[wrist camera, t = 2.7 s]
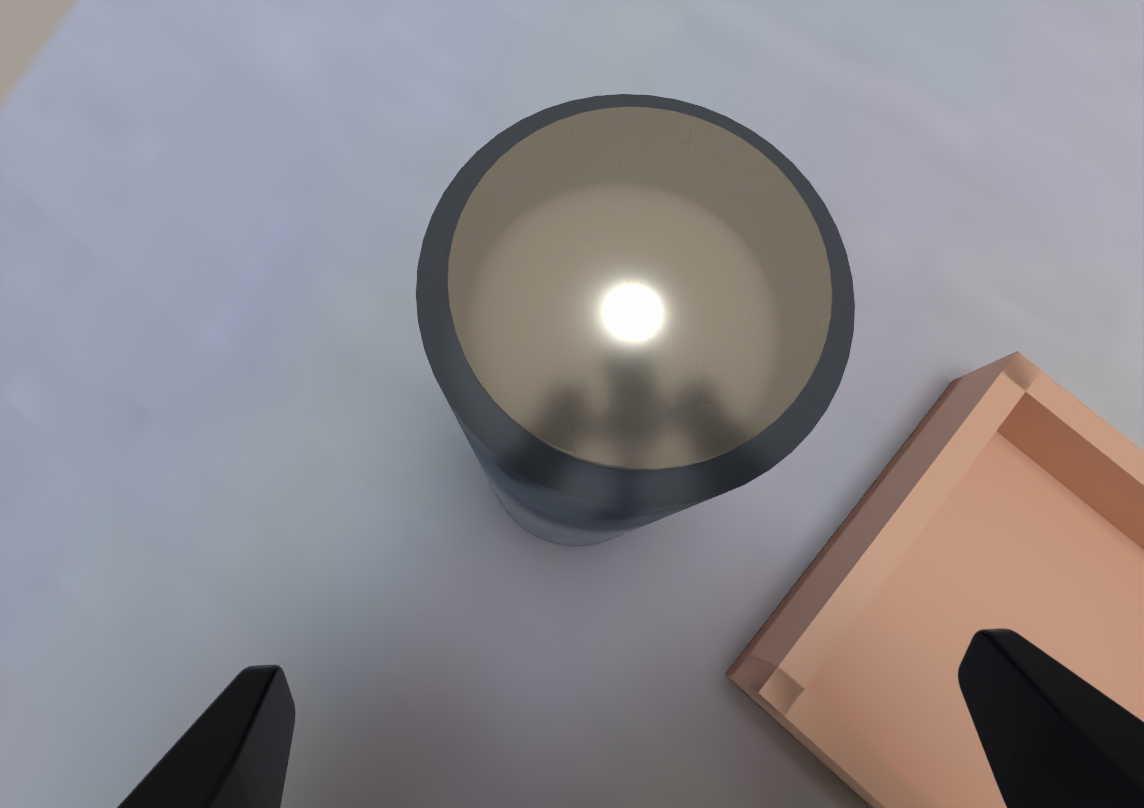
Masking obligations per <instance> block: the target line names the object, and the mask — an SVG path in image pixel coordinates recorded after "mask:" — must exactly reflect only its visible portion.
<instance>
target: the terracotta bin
mask: <svg viewBox="0 0 1144 808" xmlns="http://www.w3.org/2000/svg"><path fill="white" fill-rule="evenodd" d="M997 628H1006V629H1010V630H1013V631H1015V632H1017V633H1018V634H1020V635H1021V636H1023V637H1024V638H1025V639H1027V640H1028V641H1030V642H1031V643H1033V644H1034V645H1035V646H1037V647H1038V648H1040V649H1041V650H1043V651H1044V652H1045V653H1047V654H1048V655H1050V656H1051V657H1052V658H1054V659H1055V660H1057V661H1058V662H1060V663H1061V664H1062V665H1064V666H1065V667H1067V668H1068V669H1070V670H1071V671H1072V672H1074V673H1075V674H1077V675H1078V676H1079V677H1081V678H1082V679H1084V680H1085V681H1087V682H1088V683H1089V684H1091V685H1092V686H1094V687H1095V688H1097V689H1098V690H1099V691H1101V692H1102V693H1104V694H1105V695H1106V696H1108V697H1109V698H1111V699H1112V700H1114V701H1115V702H1116V703H1118V704H1119V705H1121V706H1122V707H1124V708H1125V709H1126V710H1128V711H1129V712H1131V713H1132V714H1133V715H1135V716H1136V717H1138V718H1139V719H1141V720H1142V721H1143V722H1144V451H1143V450H1142V449H1140V448H1139V447H1138V446H1136V445H1135V444H1134V443H1133V442H1131V441H1130V440H1129V439H1128V438H1126V437H1125V436H1124V435H1123V434H1121V433H1120V432H1119V431H1117V430H1116V429H1115V428H1114V427H1112V426H1111V425H1110V424H1109V423H1107V422H1106V421H1105V420H1104V419H1102V418H1101V417H1100V416H1099V415H1097V414H1096V413H1095V412H1093V411H1092V410H1091V409H1090V408H1088V407H1087V406H1086V405H1085V404H1083V403H1082V402H1081V401H1080V400H1078V399H1077V398H1076V397H1074V396H1073V395H1072V394H1071V393H1069V392H1068V391H1067V390H1066V389H1064V388H1063V387H1062V386H1061V385H1059V384H1058V383H1057V382H1055V381H1054V380H1053V379H1052V378H1050V377H1049V376H1048V375H1047V374H1045V373H1044V372H1043V371H1042V370H1040V369H1039V368H1038V367H1036V366H1035V365H1034V364H1033V363H1031V362H1030V361H1029V360H1028V359H1026V358H1025V357H1024V356H1023V355H1021V354H1020V353H1019V352H1015V353H1013V354H1010V355H1008V356H1006V357H1004V358H1001V359H999V360H997V361H995V362H993V363H990V364H988V365H986V366H984V367H982V368H979V369H977V370H975V371H973V372H970V373H968V374H966V375H964V376H962V377H959V378H957V379H955V380H953V382H952V383H951V384H950V385H949V387H948V388H947V389H946V391H945V392H944V393H943V394H942V396H941V397H940V398H939V400H938V401H937V402H936V403H935V405H934V406H933V407H932V409H931V410H930V411H929V412H928V414H927V415H926V416H925V418H924V419H923V420H922V422H921V423H920V424H919V425H918V427H917V428H916V429H915V431H914V432H913V433H912V434H911V436H910V437H909V438H908V440H907V441H906V442H905V443H904V445H903V446H902V447H901V449H900V450H899V451H898V452H897V454H896V455H895V456H894V458H893V459H892V460H891V461H890V463H889V464H888V465H887V467H886V468H885V469H884V470H883V472H882V473H881V474H880V476H879V477H878V478H877V480H876V481H875V482H874V483H873V485H872V486H871V487H870V489H869V490H868V491H867V492H866V494H865V495H864V496H863V498H862V499H861V500H860V501H859V503H858V504H857V505H856V507H855V508H854V509H853V510H852V512H851V513H850V514H849V516H848V517H847V518H846V519H845V521H844V522H843V523H842V525H841V526H840V527H839V528H838V530H837V531H836V532H835V534H834V535H833V536H832V538H831V539H830V540H829V541H828V543H827V544H826V545H825V547H824V548H823V549H822V550H821V552H820V553H819V554H818V556H817V557H816V558H815V559H814V561H813V562H812V563H811V565H810V566H809V567H808V568H807V570H806V571H805V572H804V574H803V575H802V576H801V577H800V579H799V580H798V581H797V583H796V584H795V585H794V586H793V588H792V589H791V590H790V592H789V593H788V594H787V596H786V597H785V598H784V599H783V601H782V602H781V603H780V605H779V606H778V607H777V608H776V610H775V611H774V612H773V614H772V615H771V616H770V617H769V619H768V620H767V621H766V623H765V624H764V625H763V626H762V628H761V629H760V630H759V632H758V633H757V634H756V635H755V637H754V638H753V639H752V641H751V642H750V643H749V644H748V646H747V647H746V648H745V650H744V651H743V652H742V654H741V655H740V656H739V657H738V659H737V660H736V661H735V663H734V664H733V665H732V666H731V668H730V669H729V670H728V672H727V673H726V674H725V675H727V676H728V677H729V678H730V679H731V680H732V681H733V682H734V683H735V684H736V685H738V686H739V687H740V688H741V689H742V690H743V691H744V692H745V693H746V694H748V695H749V696H750V697H751V698H752V699H753V700H754V701H755V702H756V703H757V704H759V705H760V706H761V707H762V708H763V709H764V710H765V711H766V712H767V713H768V714H770V715H771V716H772V717H773V718H774V719H775V720H776V721H777V722H778V723H779V724H781V725H782V726H783V727H784V728H785V729H786V730H787V731H788V732H789V733H790V734H792V735H793V736H794V737H795V738H796V739H797V740H798V741H799V742H800V743H801V744H803V745H804V746H805V747H806V748H807V749H808V750H809V751H810V752H811V753H813V754H814V755H815V756H816V757H817V758H818V759H819V760H820V761H821V762H822V763H824V764H825V765H826V766H827V767H828V768H829V769H830V770H831V771H832V772H833V773H835V774H836V775H837V776H838V777H839V778H840V779H841V780H842V781H843V782H844V783H846V784H847V785H848V786H849V787H850V788H851V789H852V790H853V791H854V792H855V793H857V794H858V795H859V796H860V797H861V798H862V799H863V800H864V801H865V802H866V803H868V804H869V805H870V806H871V807H872V808H1007V807H1006V805H1005V802H1004V800H1003V798H1002V795H1001V793H1000V790H999V788H998V786H997V783H996V781H995V778H994V775H993V773H992V770H991V768H990V765H989V762H988V760H987V757H986V755H985V752H984V749H983V747H982V744H981V742H980V739H979V736H978V734H977V731H976V729H975V726H974V723H973V721H972V718H971V715H970V713H969V710H968V708H967V705H966V702H965V700H964V697H963V695H962V692H961V689H960V686H959V682H958V668H959V665H960V663H961V661H962V659H963V657H964V654H965V652H966V650H967V648H968V646H969V644H970V641H971V639H972V637H973V635H974V634H975V633H976V632H977V631H979V630H981V629H997Z"/></svg>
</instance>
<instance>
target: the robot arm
mask: <svg viewBox="0 0 1144 808" xmlns="http://www.w3.org/2000/svg"><path fill="white" fill-rule="evenodd" d="M958 682H959V686H960V689H961V692H962V695H963V697H964V700H965V702H966V705H967V708H968V710H969V713H970V715H971V718H972V721H973V723H974V726H975V729H976V731H977V734H978V736H979V739H980V742H981V744H982V747H983V749H984V752H985V755H986V757H987V760H988V762H989V765H990V768H991V770H992V773H993V775H994V778H995V781H996V783H997V786H998V788H999V790H1000V793H1001V795H1002V798H1003V800H1004V802H1005V805H1006V807H1007V808H1144V722H1143V721H1142V720H1141V719H1139V718H1138V717H1136V716H1135V715H1133V714H1132V713H1131V712H1129V711H1128V710H1126V709H1125V708H1124V707H1122V706H1121V705H1119V704H1118V703H1116V702H1115V701H1114V700H1112V699H1111V698H1109V697H1108V696H1106V695H1105V694H1104V693H1102V692H1101V691H1099V690H1098V689H1097V688H1095V687H1094V686H1092V685H1091V684H1089V683H1088V682H1087V681H1085V680H1084V679H1082V678H1081V677H1079V676H1078V675H1077V674H1075V673H1074V672H1072V671H1071V670H1070V669H1068V668H1067V667H1065V666H1064V665H1062V664H1061V663H1060V662H1058V661H1057V660H1055V659H1054V658H1052V657H1051V656H1050V655H1048V654H1047V653H1045V652H1044V651H1043V650H1041V649H1040V648H1038V647H1037V646H1035V645H1034V644H1033V643H1031V642H1030V641H1028V640H1027V639H1025V638H1024V637H1023V636H1021V635H1020V634H1018V633H1017V632H1015V631H1013V630H1010V629H1006V628H997V629H981V630H979V631H977V632H976V633H975V634H974V635H973V637H972V639H971V641H970V644H969V646H968V648H967V650H966V652H965V654H964V657H963V659H962V661H961V663H960V665H959V668H958ZM294 724H295V705H294V701H293V698H292V695H291V692H290V689H289V686H288V683H287V680H286V677H285V674H284V671H283V669H282V668H281V667H280V666H278V665H258V666H249V667H247V668H245V669H244V670H242V671H241V672H240V673H239V674H238V675H237V676H236V677H235V678H234V680H233V681H232V682H231V683H230V684H229V685H228V686H227V687H226V688H225V689H224V691H223V692H222V693H221V694H220V695H219V696H218V697H217V698H216V699H215V700H214V702H213V703H212V704H211V705H210V706H209V707H208V708H207V709H206V710H205V711H204V713H203V714H202V715H201V716H200V717H199V718H198V719H197V720H196V721H195V722H194V724H193V725H192V726H191V727H190V728H189V729H188V730H187V731H186V732H185V733H184V735H183V736H182V737H181V738H180V739H179V740H178V741H177V742H176V743H175V744H174V746H173V747H172V748H171V749H170V750H169V751H168V752H167V753H166V754H165V755H164V757H163V758H162V759H161V760H160V761H159V762H158V763H157V764H156V765H155V766H154V768H153V769H152V770H151V771H150V772H149V773H148V774H147V775H146V776H145V777H144V779H143V780H142V781H141V782H140V783H139V784H138V785H137V786H136V787H135V788H134V790H133V791H132V792H131V793H130V794H129V795H128V796H127V797H126V798H125V799H124V801H123V802H122V803H121V804H120V805H119V806H118V807H117V808H280V805H281V800H282V794H283V788H284V782H285V776H286V771H287V765H288V759H289V753H290V747H291V742H292V736H293V730H294Z"/></svg>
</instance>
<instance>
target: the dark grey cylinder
mask: <svg viewBox="0 0 1144 808" xmlns="http://www.w3.org/2000/svg"><path fill="white" fill-rule="evenodd" d="M416 300H417V313H418V323H419V328H420V332H421V336H422V341H423V345H424V350H425V352H426V355H427V358H428V360H429V363H430V366H431V368H432V371H433V374H434V376H435V378H436V380H437V382H438V384H439V386H440V388H441V390H442V391H443V393H444V395H445V397H446V399H447V401H448V403H449V405H450V407H451V409H452V411H453V412H454V414H455V416H456V418H457V420H458V422H459V424H460V426H461V428H462V430H463V432H464V433H465V435H466V437H467V439H468V441H469V443H470V445H471V447H472V449H473V451H474V453H475V454H476V456H477V458H478V460H479V462H480V464H481V466H482V468H483V470H484V472H485V474H486V476H487V477H488V479H489V481H490V483H491V485H492V487H493V489H494V491H495V493H496V495H497V496H498V498H499V500H500V502H501V504H502V505H503V507H504V508H505V510H506V511H507V512H508V514H509V515H510V516H511V517H512V518H513V519H514V520H515V521H516V522H517V523H518V524H519V525H520V526H522V527H523V528H524V529H525V530H527V531H528V532H530V533H532V534H533V535H535V536H537V537H539V538H542V539H544V540H546V541H549V542H553V543H556V544H561V545H568V546H584V545H592V544H597V543H600V542H604V541H607V540H609V539H612V538H614V537H617V536H619V535H622V534H624V533H627V532H629V531H632V530H634V529H636V528H639V527H641V526H644V525H646V524H649V523H651V522H654V521H656V520H659V519H661V518H664V517H666V516H669V515H671V514H674V513H676V512H679V511H681V510H684V509H686V508H689V507H691V506H694V505H696V504H699V503H701V502H703V501H706V500H708V499H711V498H713V497H716V496H718V495H721V494H723V493H726V492H728V491H730V490H733V489H735V488H738V487H740V486H742V485H745V484H746V483H748V482H750V481H751V480H753V479H755V478H757V477H758V476H760V475H762V474H763V473H765V472H767V471H768V470H770V469H771V468H772V467H774V466H775V465H776V464H777V463H779V462H780V461H781V460H783V459H784V458H785V457H786V456H788V455H789V454H790V453H791V452H792V451H793V450H794V449H795V448H796V447H797V446H798V445H799V444H800V443H801V442H802V441H803V440H804V439H805V438H806V437H807V435H808V434H809V433H810V432H811V431H812V430H813V428H814V427H815V425H816V424H817V423H818V421H819V420H820V418H821V417H822V416H823V414H824V413H825V411H826V410H827V408H828V406H829V404H830V402H831V400H832V399H833V397H834V395H835V393H836V391H837V389H838V387H839V385H840V382H841V379H842V376H843V373H844V370H845V367H846V364H847V361H848V359H849V353H850V348H851V343H852V337H853V332H854V310H855V303H854V292H853V281H852V275H851V271H850V266H849V262H848V258H847V253H846V250H845V248H844V245H843V242H842V240H841V237H840V234H839V231H838V229H837V227H836V225H835V223H834V221H833V219H832V217H831V215H830V213H829V211H828V209H827V207H826V206H825V204H824V202H823V201H822V199H821V198H820V197H819V195H818V194H817V192H816V191H815V189H814V188H813V186H812V185H811V184H810V182H809V181H808V180H807V179H806V178H805V177H804V175H803V174H802V173H801V172H800V171H799V170H798V169H797V168H796V166H795V165H794V164H793V163H792V162H791V161H790V160H789V159H788V158H786V157H785V156H784V155H783V154H782V153H781V152H780V151H779V150H777V149H776V148H775V147H774V146H773V145H772V144H770V143H769V142H767V141H766V140H765V139H763V138H762V137H760V136H759V135H757V134H756V133H755V132H753V131H752V130H750V129H749V128H747V127H745V126H743V125H741V124H739V123H737V122H736V121H734V120H732V119H730V118H728V117H726V116H724V115H721V114H719V113H716V112H714V111H711V110H709V109H706V108H704V107H701V106H698V105H694V104H690V103H687V102H683V101H680V100H676V99H670V98H663V97H657V96H651V95H630V94H618V95H605V96H594V97H589V98H584V99H578V100H573V101H569V102H566V103H563V104H559V105H556V106H553V107H550V108H547V109H544V110H542V111H540V112H538V113H535V114H533V115H531V116H529V117H527V118H525V119H522V120H520V121H519V122H517V123H515V124H514V125H512V126H511V127H509V128H507V129H506V130H504V131H503V132H501V133H499V134H498V135H497V136H495V137H494V138H493V139H492V140H491V141H489V142H488V143H487V144H486V145H484V146H483V147H482V148H481V149H480V150H478V151H477V152H476V153H475V154H474V156H473V157H472V158H471V159H470V160H469V161H468V162H467V163H466V164H465V165H464V166H463V167H462V168H461V169H460V171H459V172H458V173H457V175H456V176H455V178H454V179H453V180H452V182H451V183H450V185H449V186H448V187H447V189H446V190H445V192H444V193H443V195H442V197H441V199H440V201H439V203H438V205H437V207H436V209H435V211H434V213H433V214H432V217H431V220H430V222H429V225H428V228H427V231H426V234H425V236H424V239H423V243H422V248H421V253H420V258H419V263H418V270H417V286H416Z"/></svg>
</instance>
